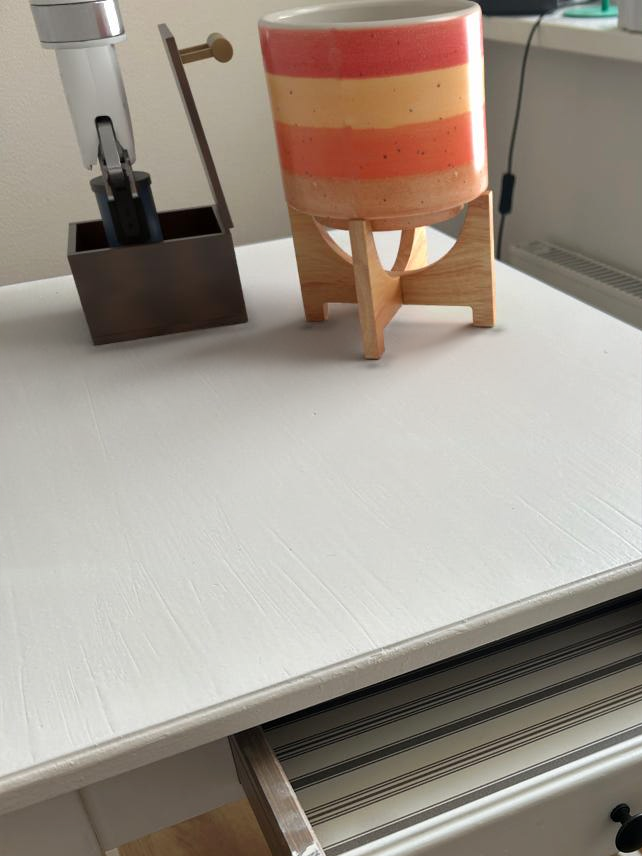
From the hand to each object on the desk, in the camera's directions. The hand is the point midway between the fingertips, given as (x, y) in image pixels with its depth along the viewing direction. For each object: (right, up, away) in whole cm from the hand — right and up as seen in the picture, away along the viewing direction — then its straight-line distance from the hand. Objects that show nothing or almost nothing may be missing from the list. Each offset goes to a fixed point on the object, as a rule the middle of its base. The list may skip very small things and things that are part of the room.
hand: (133, 232), depth 99 cm
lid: (+7, +9, -4) cm, 12 cm away
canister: (0, -2, +1) cm, 2 cm away
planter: (+27, -9, 0) cm, 29 cm away
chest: (+2, -6, +6) cm, 9 cm away
